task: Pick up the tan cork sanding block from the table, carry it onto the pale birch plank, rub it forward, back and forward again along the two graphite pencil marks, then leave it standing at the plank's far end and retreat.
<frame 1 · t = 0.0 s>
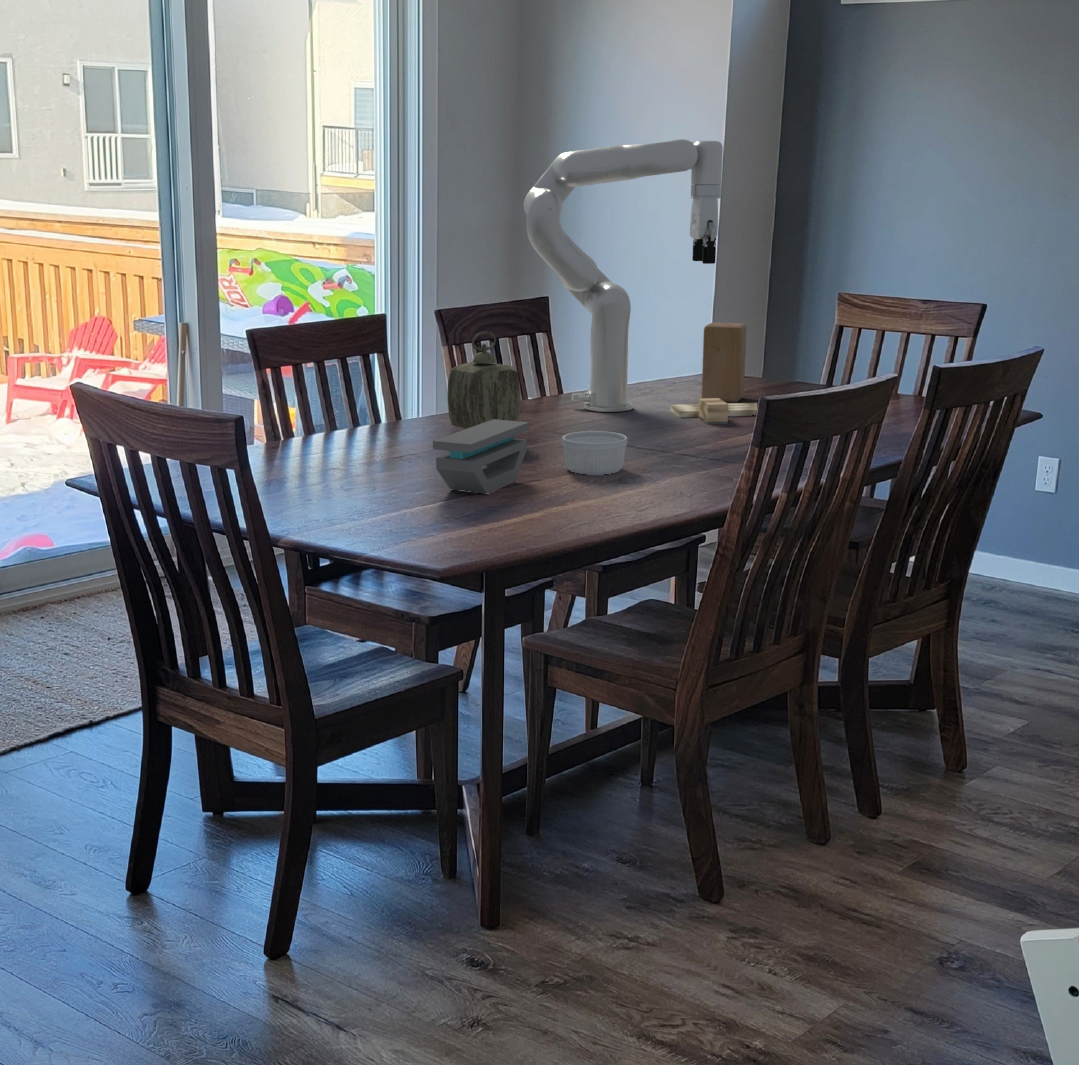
hand: (703, 262, 344), 37 cm above the table, tool pointing down, fingers open, 9 cm apart
wooden block: (722, 400, 364), on the table
ramekin: (594, 471, 279), on the table
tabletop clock: (486, 444, 305), on the table
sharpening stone: (483, 487, 264), on the table
sanding block: (712, 421, 333), on the table
birch plank: (721, 412, 344), on the table
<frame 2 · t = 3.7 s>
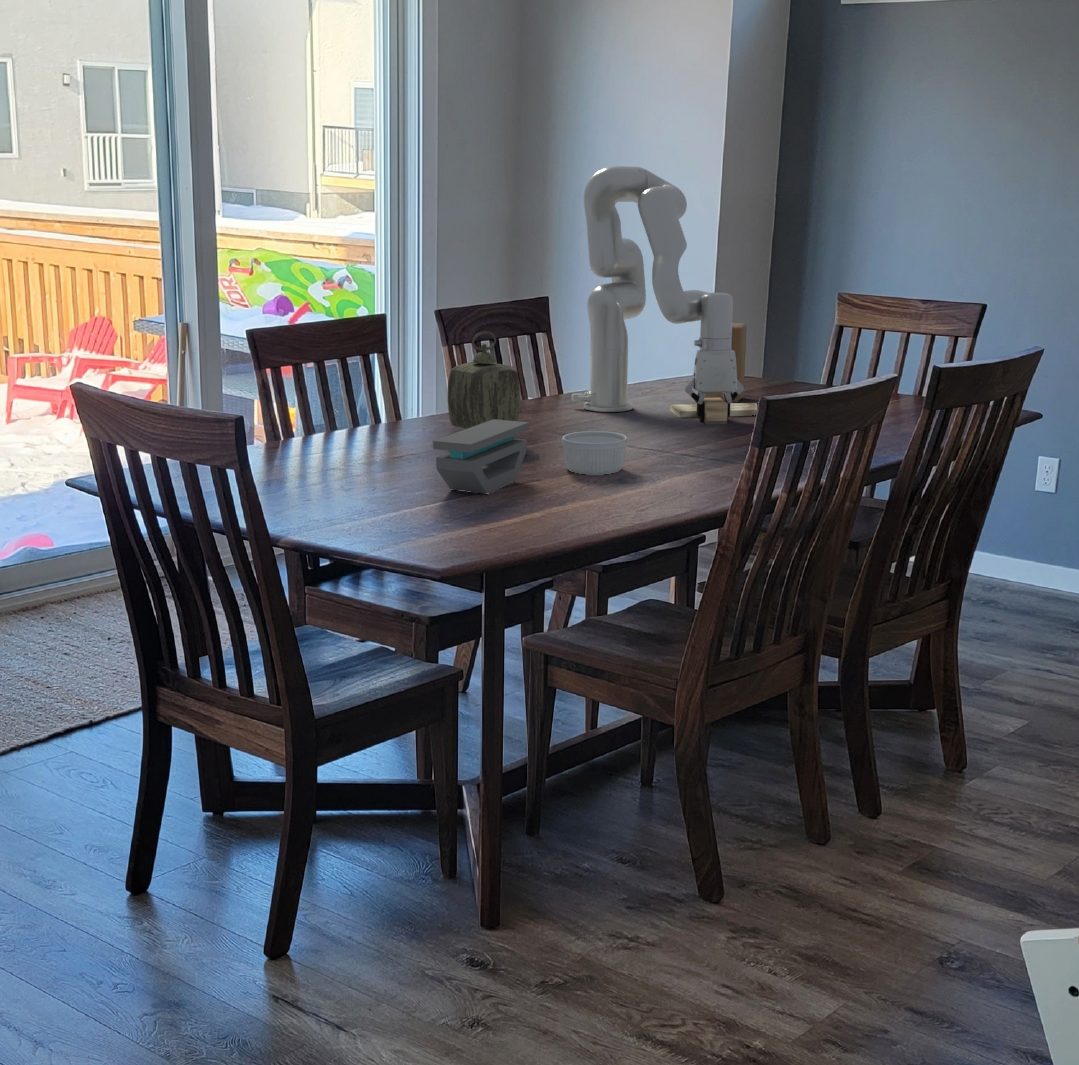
hand: (713, 418, 333), 1 cm above the table, tool pointing down, fingers closed on sanding block, 5 cm apart
sanding block: (713, 421, 333), on the table, touching gripper
everything else where it was.
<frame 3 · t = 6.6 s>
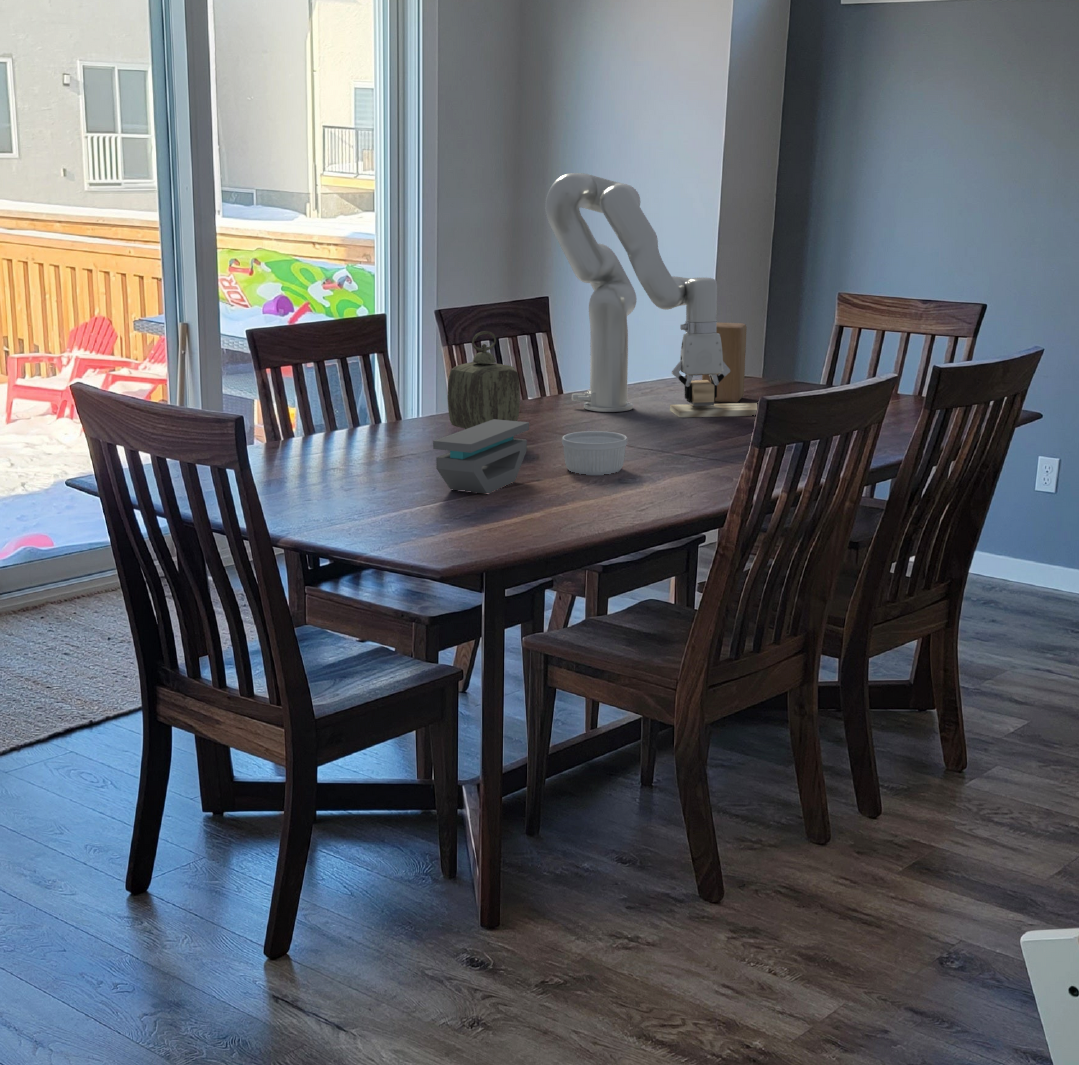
hand: (700, 400, 342), 3 cm above the table, tool pointing down, fingers closed on sanding block, 5 cm apart
sanding block: (700, 402, 342), point 3 cm above the table, touching gripper
everything else where it was.
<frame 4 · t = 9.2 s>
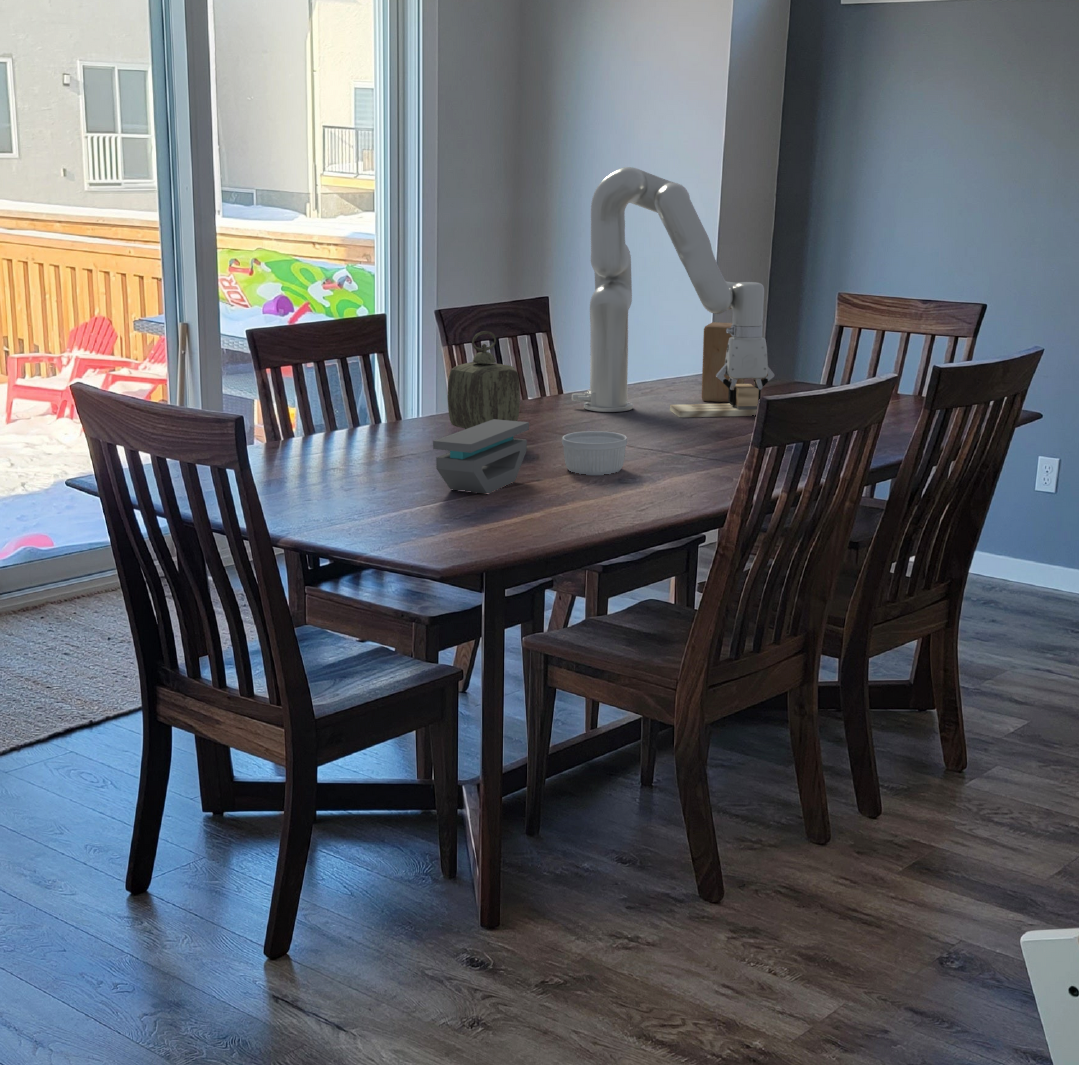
hand: (744, 404, 344), 2 cm above the table, tool pointing down, fingers closed on sanding block, 5 cm apart
sanding block: (743, 406, 344), point 2 cm above the table, touching gripper
everything else where it was.
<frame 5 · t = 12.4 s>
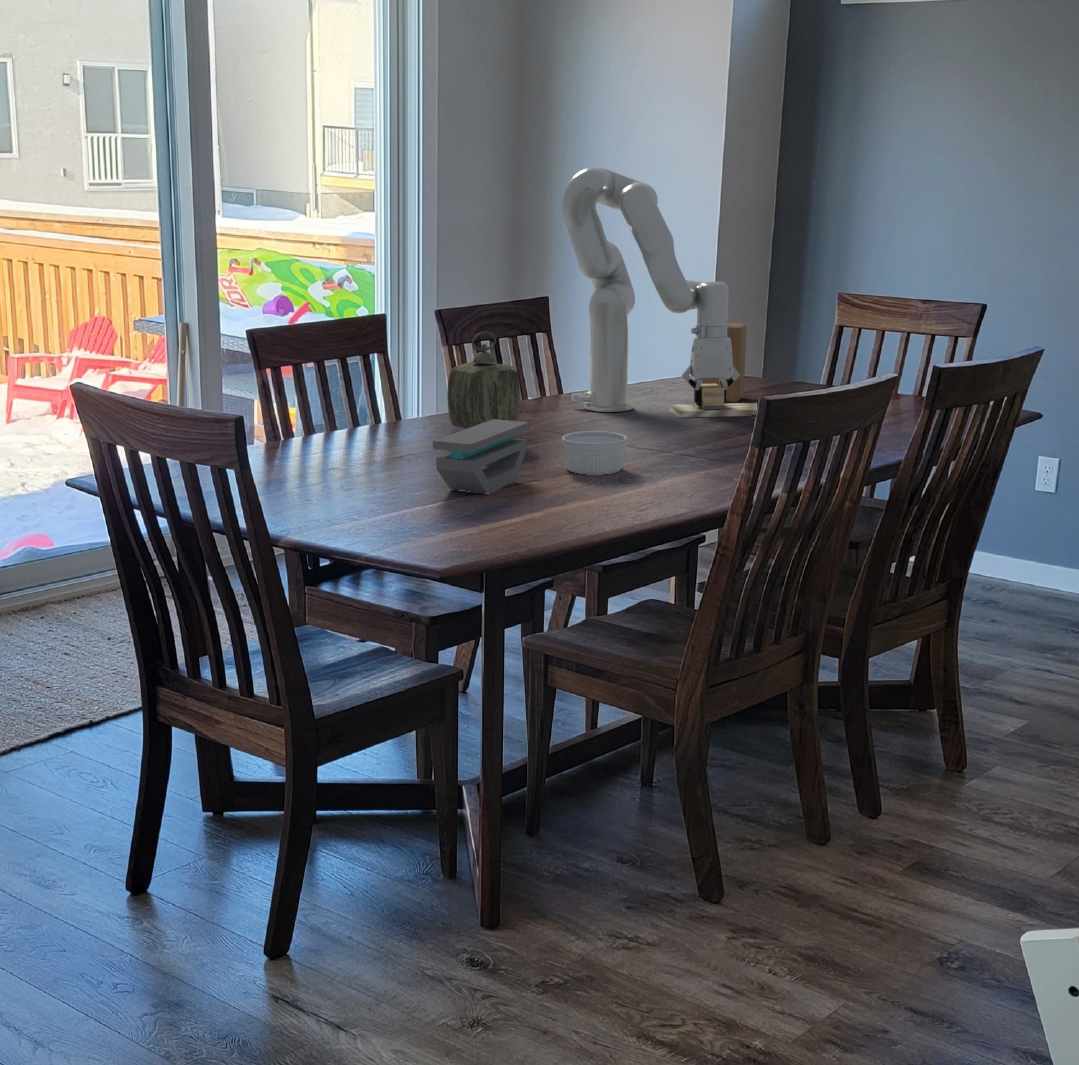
hand: (709, 404, 343), 2 cm above the table, tool pointing down, fingers closed on sanding block, 5 cm apart
sanding block: (709, 406, 343), point 2 cm above the table, touching gripper
everything else where it was.
when the fingers open (3 cm above the table, at t = 15.0 s): sanding block stays where it is, resting on birch plank.
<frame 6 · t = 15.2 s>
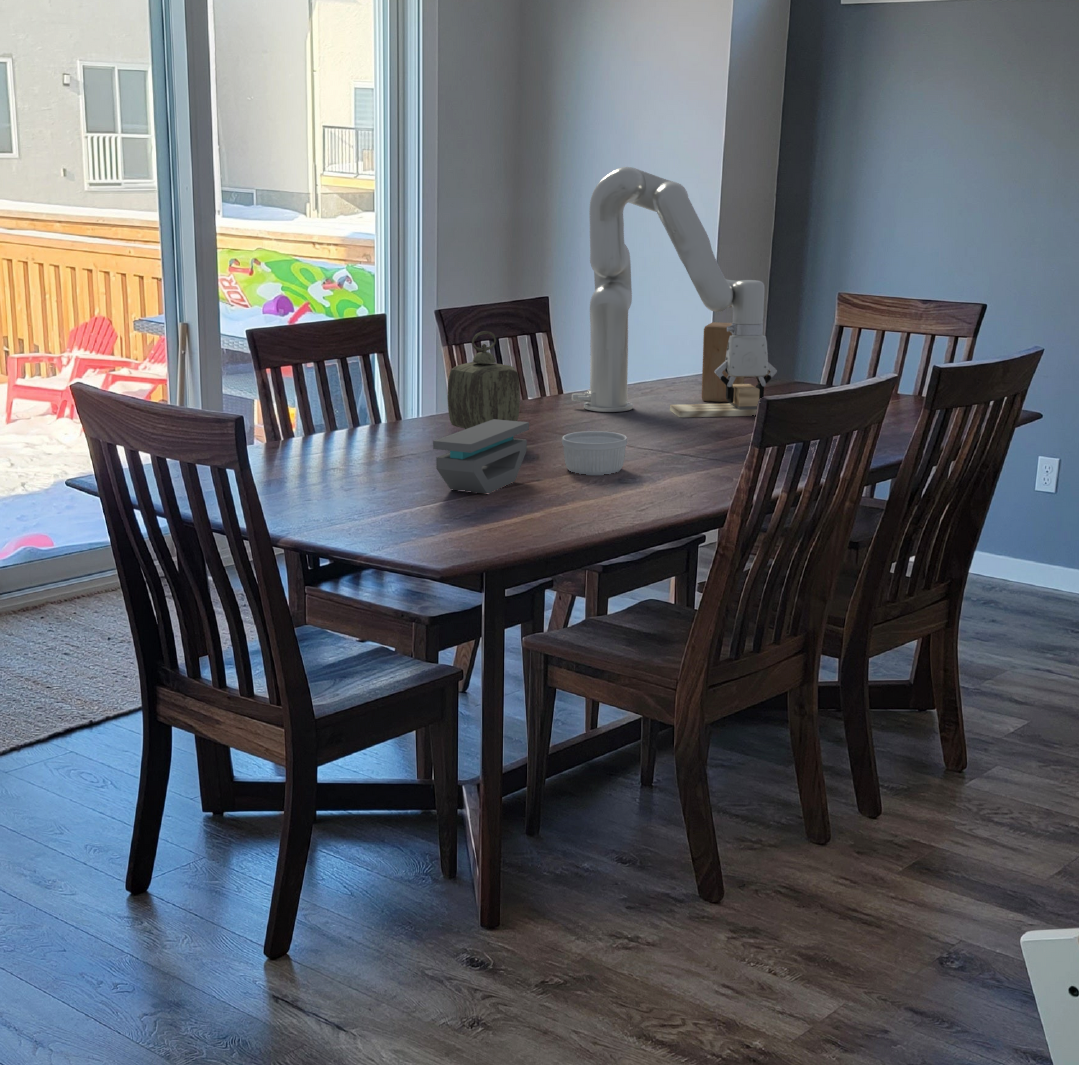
hand: (744, 401, 344), 3 cm above the table, tool pointing down, fingers open, 6 cm apart
sanding block: (744, 406, 344), point 2 cm above the table, touching birch plank
everything else where it was.
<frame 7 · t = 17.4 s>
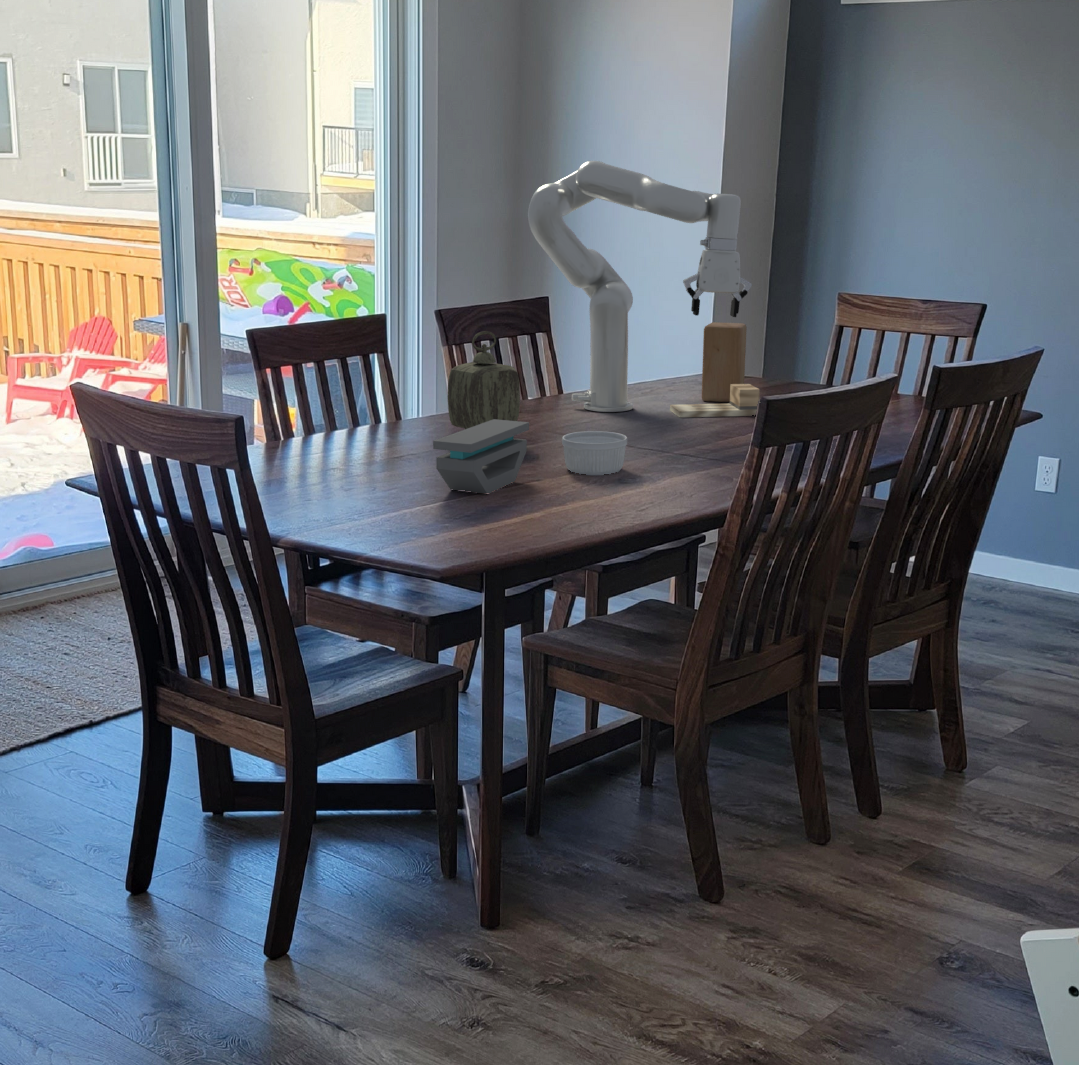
hand: (714, 315, 339), 24 cm above the table, tool pointing down, fingers open, 9 cm apart
nothing on the table moved.
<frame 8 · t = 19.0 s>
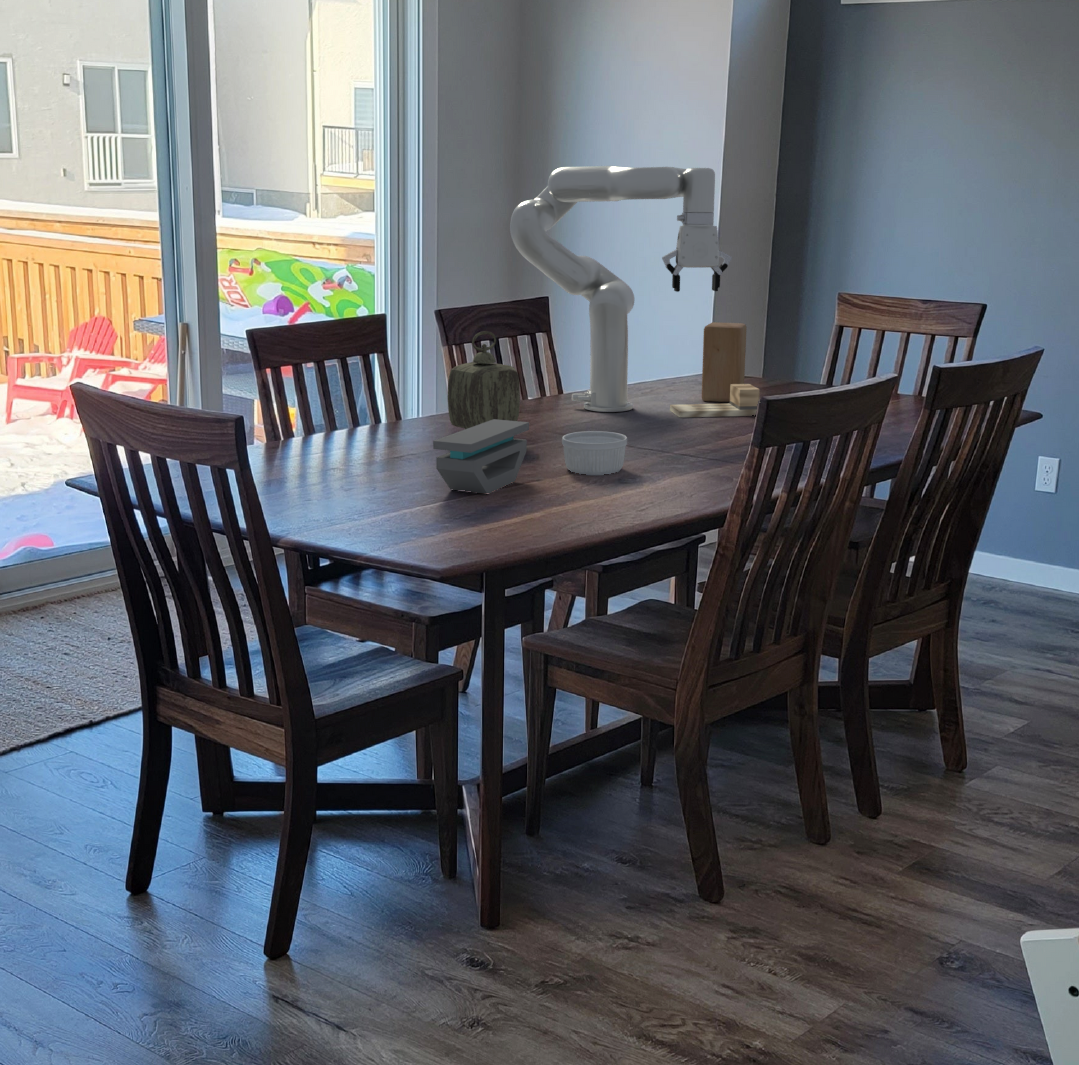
hand: (695, 291, 337), 30 cm above the table, tool pointing down, fingers open, 9 cm apart
nothing on the table moved.
at the end: sanding block inside the target area on the birch plank (0.3 cm from its centre), point 1.5 cm above the birch plank's base; sanding block tilted 0°; the gripper is holding nothing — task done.
